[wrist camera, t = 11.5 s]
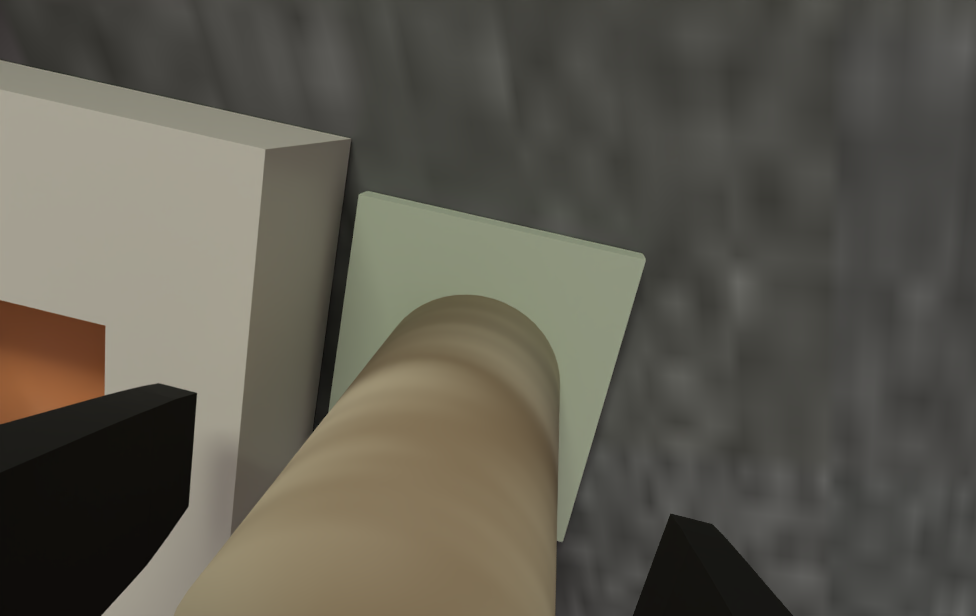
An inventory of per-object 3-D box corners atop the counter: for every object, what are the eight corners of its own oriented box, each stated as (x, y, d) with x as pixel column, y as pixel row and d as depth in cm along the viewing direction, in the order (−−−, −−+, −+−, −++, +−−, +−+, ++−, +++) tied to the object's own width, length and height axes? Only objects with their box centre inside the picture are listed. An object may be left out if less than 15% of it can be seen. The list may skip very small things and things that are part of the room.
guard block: (-85, 519, 18) (-260, 629, 14) (-133, 30, 14) (-399, -1, 10) (287, 617, 17) (209, 759, 14) (351, 139, 13) (265, 149, 9)
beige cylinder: (365, 432, 15) (147, 777, 7) (402, 271, 13) (186, 480, 6) (530, 482, 14) (491, 890, 7) (584, 325, 13) (609, 613, 6)
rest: (327, 467, 16) (318, 480, 15) (367, 190, 14) (358, 194, 13) (562, 526, 15) (562, 542, 15) (642, 253, 13) (646, 259, 13)
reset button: (-6, 430, 16) (-49, 454, 15) (-15, 241, 14) (-65, 252, 13) (181, 477, 16) (151, 506, 15) (192, 290, 14) (159, 306, 13)
